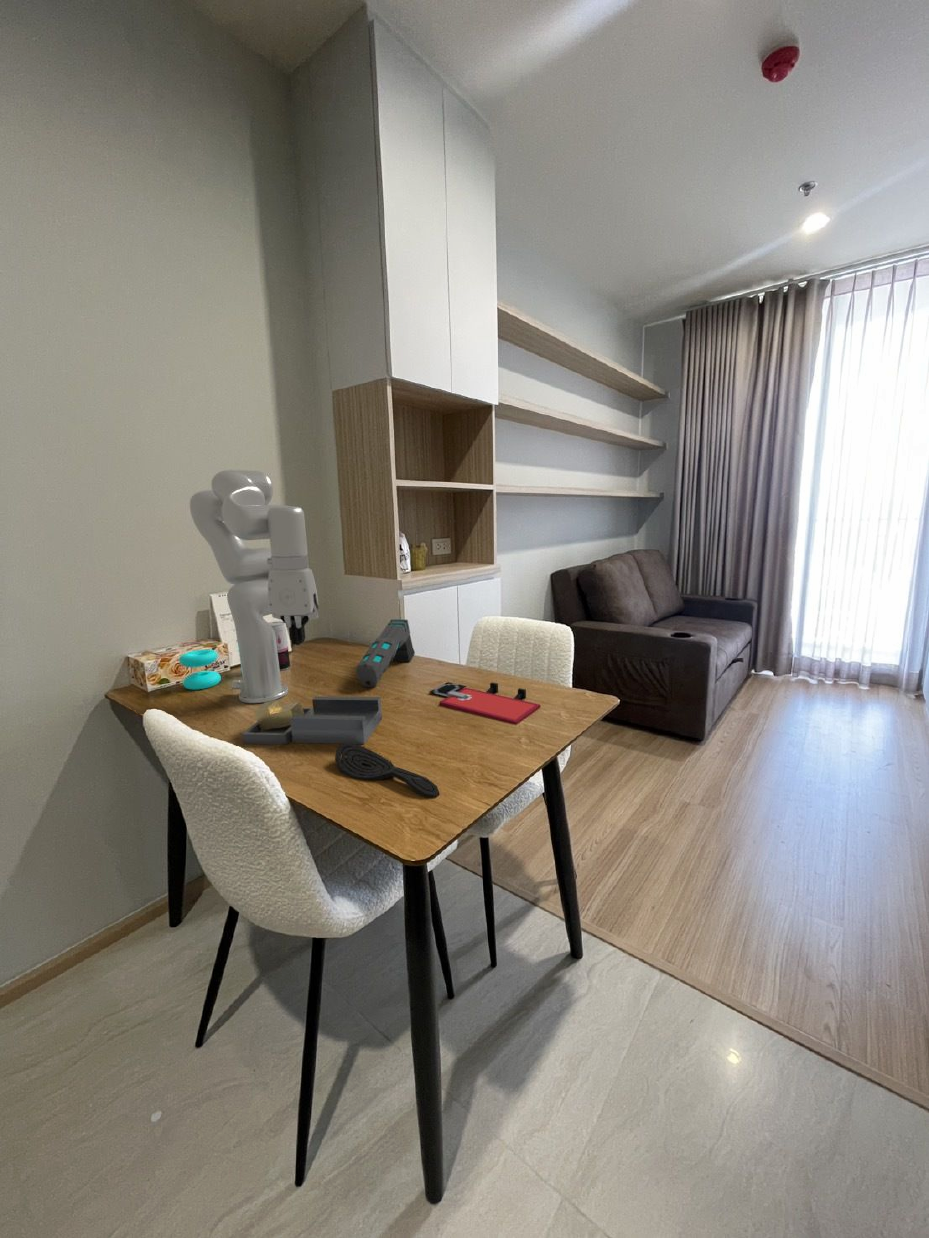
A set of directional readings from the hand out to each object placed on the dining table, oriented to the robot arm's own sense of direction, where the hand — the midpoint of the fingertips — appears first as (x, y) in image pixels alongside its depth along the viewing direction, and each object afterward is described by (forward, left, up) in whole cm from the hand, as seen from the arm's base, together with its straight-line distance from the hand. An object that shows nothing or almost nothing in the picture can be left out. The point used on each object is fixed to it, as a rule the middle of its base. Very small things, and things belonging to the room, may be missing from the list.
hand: (298, 643), depth 113 cm
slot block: (+10, -4, -19) cm, 22 cm away
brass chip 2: (-2, -4, -18) cm, 18 cm away
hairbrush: (+26, -23, -20) cm, 40 cm away
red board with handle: (+40, +14, -20) cm, 47 cm away
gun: (+9, +37, -20) cm, 43 cm away
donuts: (-44, +25, -20) cm, 54 cm away
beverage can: (-28, +41, -20) cm, 53 cm away
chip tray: (-4, -4, -19) cm, 20 cm away
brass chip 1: (-5, -4, -15) cm, 17 cm away
